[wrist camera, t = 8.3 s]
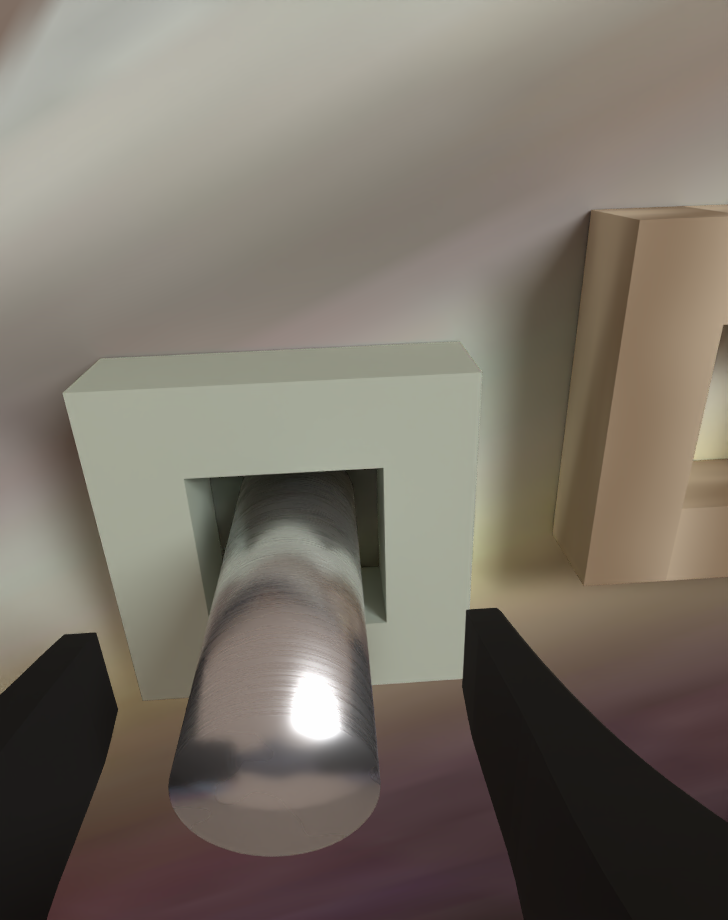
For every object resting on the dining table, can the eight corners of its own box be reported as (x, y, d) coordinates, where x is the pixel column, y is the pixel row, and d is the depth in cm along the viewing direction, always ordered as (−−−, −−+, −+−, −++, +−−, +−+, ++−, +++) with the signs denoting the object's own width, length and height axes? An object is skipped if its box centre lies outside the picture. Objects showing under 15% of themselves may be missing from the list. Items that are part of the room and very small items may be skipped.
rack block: (459, 341, 16) (482, 372, 14) (449, 619, 20) (465, 678, 18) (100, 358, 15) (62, 393, 13) (163, 637, 19) (142, 700, 17)
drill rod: (355, 446, 17) (384, 712, 9) (353, 545, 18) (376, 851, 10) (236, 447, 17) (155, 719, 9) (243, 546, 18) (180, 860, 10)
